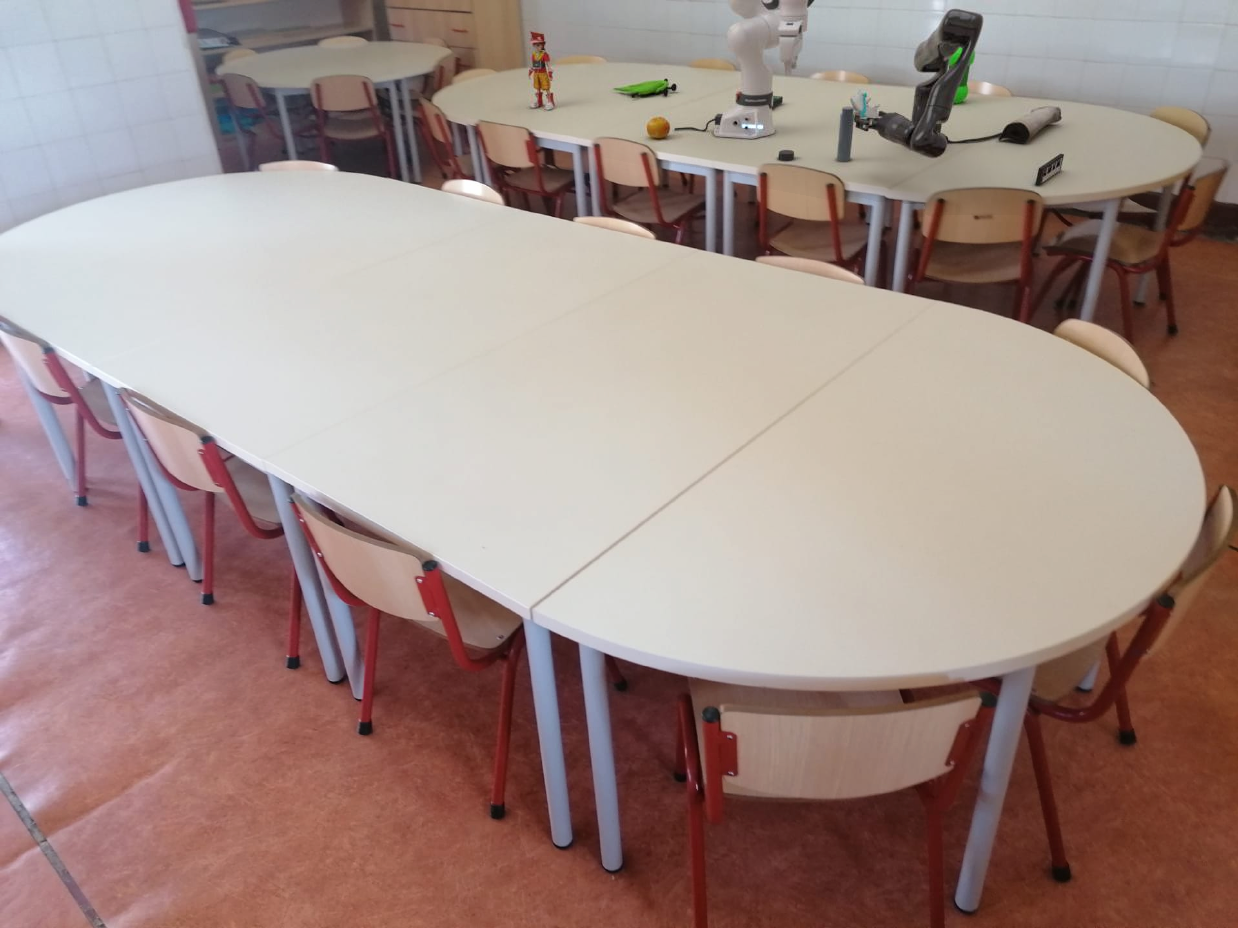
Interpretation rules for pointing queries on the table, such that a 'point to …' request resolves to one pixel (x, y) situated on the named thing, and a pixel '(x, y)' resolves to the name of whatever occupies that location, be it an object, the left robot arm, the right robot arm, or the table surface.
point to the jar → (845, 134)
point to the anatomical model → (863, 105)
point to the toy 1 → (541, 71)
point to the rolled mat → (1030, 124)
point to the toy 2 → (648, 88)
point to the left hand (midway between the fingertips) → (790, 72)
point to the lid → (786, 155)
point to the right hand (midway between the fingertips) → (867, 116)
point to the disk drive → (777, 101)
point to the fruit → (658, 127)
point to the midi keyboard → (1049, 169)
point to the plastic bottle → (963, 87)
